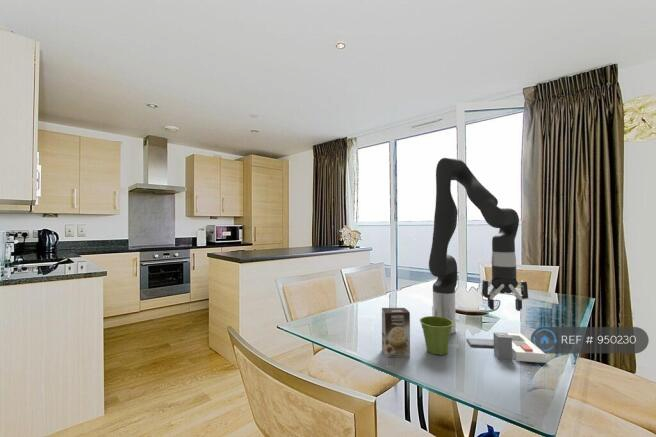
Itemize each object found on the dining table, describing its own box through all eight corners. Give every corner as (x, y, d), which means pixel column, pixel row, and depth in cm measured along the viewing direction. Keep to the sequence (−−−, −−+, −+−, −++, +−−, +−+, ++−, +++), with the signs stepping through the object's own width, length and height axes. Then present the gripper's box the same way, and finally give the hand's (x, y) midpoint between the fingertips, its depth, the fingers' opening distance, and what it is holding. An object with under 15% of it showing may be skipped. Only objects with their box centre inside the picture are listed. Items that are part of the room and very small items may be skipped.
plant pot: (427, 342, 120) (426, 314, 120) (458, 349, 112) (457, 319, 112) (414, 352, 111) (414, 322, 111) (447, 361, 103) (447, 329, 103)
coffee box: (385, 357, 107) (384, 312, 107) (381, 350, 113) (380, 307, 113) (410, 356, 107) (410, 312, 107) (405, 349, 114) (404, 307, 114)
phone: (470, 346, 115) (470, 344, 115) (466, 340, 121) (466, 338, 121) (504, 348, 113) (504, 346, 113) (498, 342, 119) (498, 339, 119)
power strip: (516, 360, 103) (516, 349, 103) (496, 339, 121) (496, 330, 121) (545, 362, 101) (545, 351, 101) (521, 341, 119) (521, 331, 119)
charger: (498, 360, 104) (498, 336, 104) (493, 354, 108) (493, 331, 108) (512, 360, 103) (511, 337, 103) (507, 355, 107) (506, 332, 107)
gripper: (485, 265, 104) (486, 312, 104) (531, 266, 101) (532, 313, 101) (478, 262, 111) (480, 306, 111) (521, 262, 109) (522, 307, 109)
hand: (504, 309), depth 106 cm, fingers open, 8 cm apart
